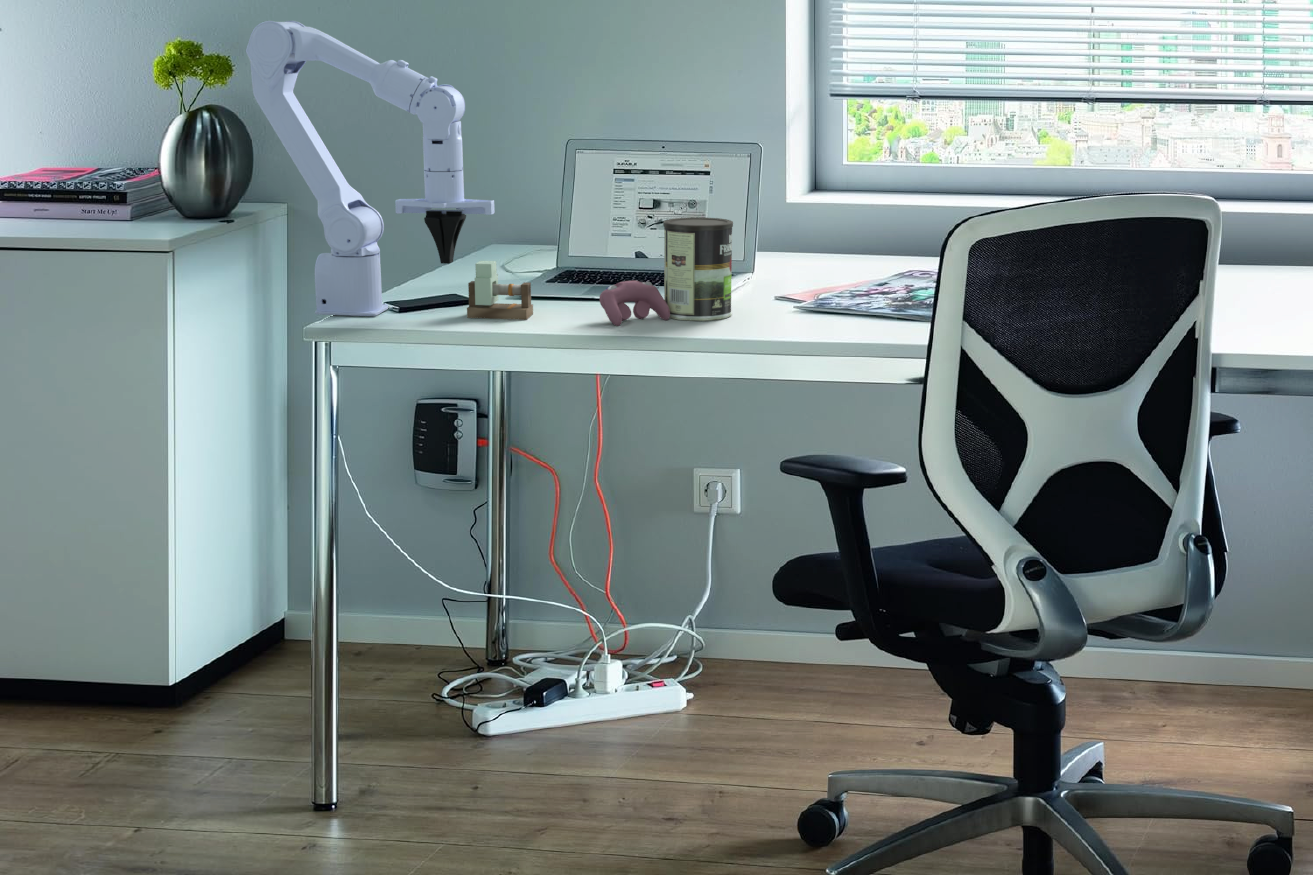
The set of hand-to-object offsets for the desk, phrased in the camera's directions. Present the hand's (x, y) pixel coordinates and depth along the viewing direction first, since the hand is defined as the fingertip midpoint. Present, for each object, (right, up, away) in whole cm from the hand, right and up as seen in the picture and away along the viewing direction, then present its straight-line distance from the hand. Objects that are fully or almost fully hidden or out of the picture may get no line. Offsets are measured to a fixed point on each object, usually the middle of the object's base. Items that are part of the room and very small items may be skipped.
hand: (447, 262), depth 231 cm
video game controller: (+28, -9, -2) cm, 29 cm away
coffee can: (+37, -8, +2) cm, 38 cm away
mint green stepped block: (+6, -6, +1) cm, 8 cm away
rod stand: (+8, -8, +1) cm, 11 cm away
